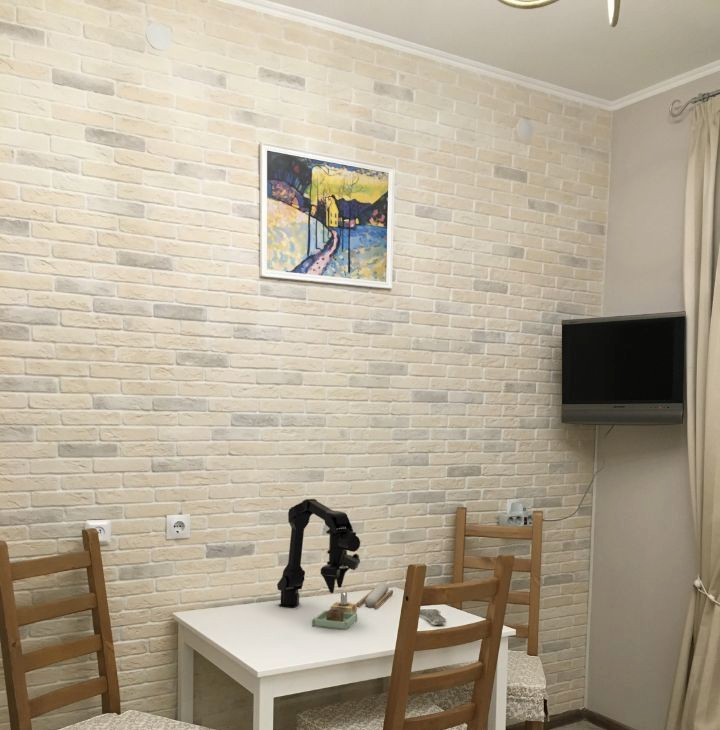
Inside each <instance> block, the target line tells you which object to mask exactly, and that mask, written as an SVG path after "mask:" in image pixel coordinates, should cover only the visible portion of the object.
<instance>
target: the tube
mask: <svg viewBox="0 0 720 730" xmlns="http://www.w3.org/2000/svg"><path fill="white" fill-rule="evenodd" d="M373 589H374V590H373ZM373 589H372V590H373V591H372V590H371V591H372V592H371V591H370V592H371V593H370V592H369V593H370V594H369V595H368V597H367V598H366V599H365V603H364V605H366V606H367V607H368V608H374V605H375V604H376V603H377V602H378V601H379V600H380V599H381V598H382V597H384V596H385V595H386V594H387V593H388V592H389V585H388V584H387V583H386V582H385V581H384V582H383V581H379V582H378V584H376V586H375V588H373ZM384 594H385V595H384Z"/></svg>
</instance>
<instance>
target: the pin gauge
mask: <svg viewBox="0 0 720 730" xmlns="http://www.w3.org/2000/svg"><path fill="white" fill-rule="evenodd" d="M340 602H341V606H347V602H348V592H345V591H342V592H340Z"/></svg>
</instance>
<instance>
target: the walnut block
mask: <svg viewBox="0 0 720 730" xmlns="http://www.w3.org/2000/svg"><path fill="white" fill-rule="evenodd" d="M326 611H327V614H326V620H331V621H340V622H343V620H344V610H339V609H331V608H329V610H326Z"/></svg>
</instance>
